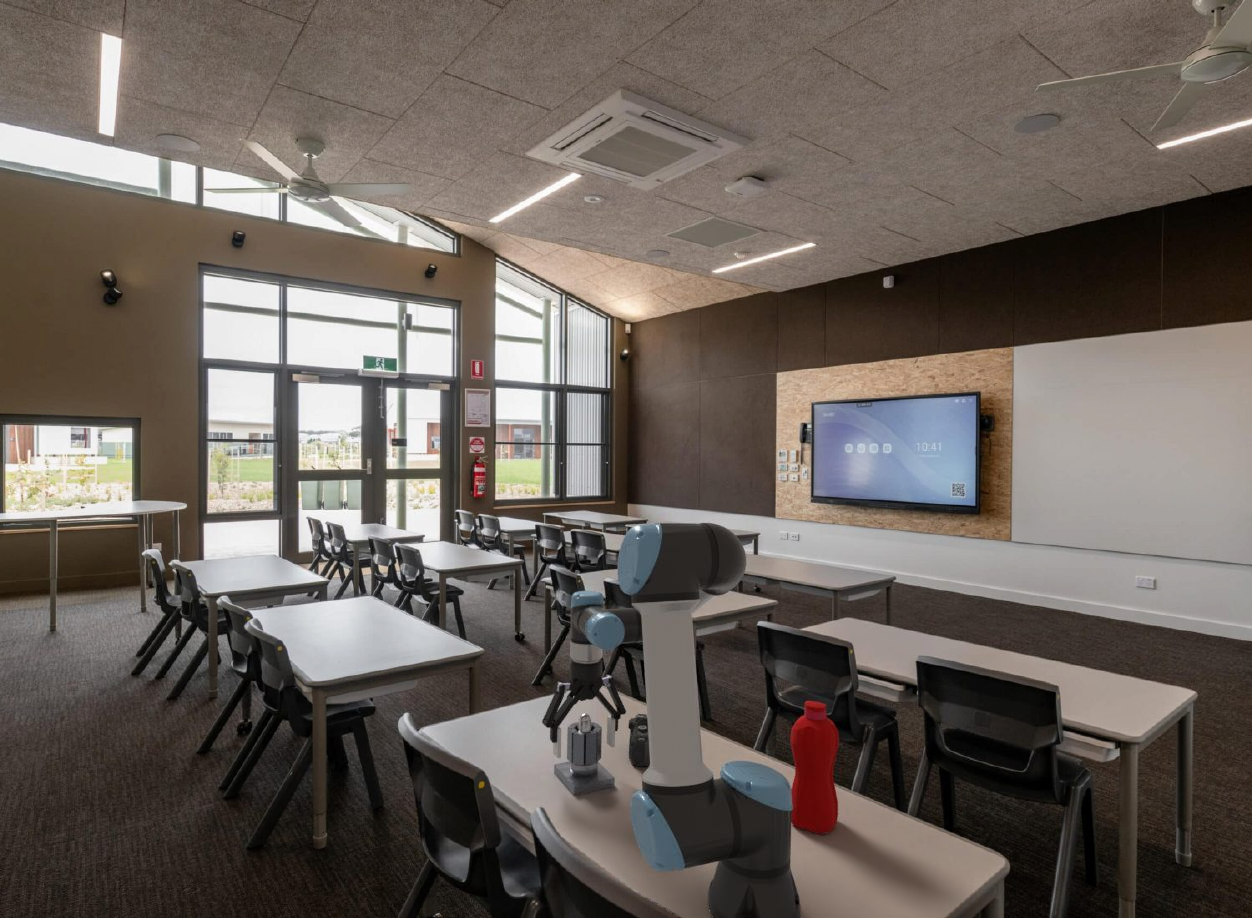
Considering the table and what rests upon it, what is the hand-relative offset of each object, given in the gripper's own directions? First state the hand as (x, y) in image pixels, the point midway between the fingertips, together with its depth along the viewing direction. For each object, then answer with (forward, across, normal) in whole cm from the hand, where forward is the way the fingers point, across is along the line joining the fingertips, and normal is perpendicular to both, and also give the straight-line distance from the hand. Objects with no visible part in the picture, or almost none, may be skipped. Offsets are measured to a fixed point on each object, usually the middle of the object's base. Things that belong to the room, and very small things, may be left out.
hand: (584, 750), depth 159 cm
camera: (+7, -19, -6) cm, 21 cm away
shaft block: (+7, 0, 0) cm, 7 cm away
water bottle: (+7, -36, +37) cm, 52 cm away
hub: (+2, 0, 0) cm, 2 cm away
